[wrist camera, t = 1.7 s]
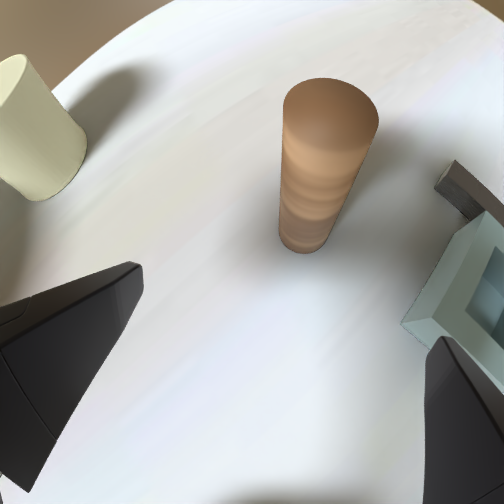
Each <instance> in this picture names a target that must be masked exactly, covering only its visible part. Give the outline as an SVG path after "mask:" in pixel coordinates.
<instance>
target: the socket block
mask: <svg viewBox="0 0 504 504" xmlns="http://www.w3.org/2000/svg"><path fill="white" fill-rule="evenodd" d="M400 324H401V325H402V326H403V327H404V328H405V329H406V330H408V331H409V332H410V333H411V334H412V335H413V336H415V337H416V338H417V339H418V340H419V341H420V342H421V343H423V344H424V345H425V346H426V347H427V348H428V349H429V350H431V348H432V347H433V345H434V344H435V342H436V340H437V339H438V338H439V337H440V336H448V337H452V338H453V339H454V340H455V341H456V342H457V343H458V344H459V345H460V346H461V347H462V348H463V349H464V350H465V352H466V353H467V354H468V355H469V356H470V357H471V358H472V359H473V360H474V361H475V363H476V364H477V365H478V366H479V367H480V368H481V369H482V370H483V371H484V373H485V374H486V375H487V376H488V377H489V378H490V379H491V381H492V382H493V383H494V384H495V385H496V386H497V388H498V389H499V390H500V391H501V392H502V393H504V227H503V226H502V225H501V224H500V223H499V222H498V221H497V220H496V219H495V218H494V217H493V216H492V215H491V214H490V213H489V212H488V211H487V210H486V211H484V212H483V213H482V214H480V215H479V216H478V217H476V218H475V219H474V220H472V221H471V222H469V223H468V224H467V225H465V226H464V227H463V228H461V229H460V230H458V231H457V232H455V233H454V235H453V236H452V238H451V240H450V242H449V244H448V246H447V248H446V250H445V251H444V253H443V255H442V257H441V259H440V260H439V262H438V264H437V266H436V267H435V269H434V271H433V272H432V274H431V276H430V277H429V279H428V281H427V282H426V284H425V286H424V287H423V289H422V291H421V292H420V294H419V295H418V297H417V299H416V300H415V302H414V303H413V305H412V306H411V308H410V309H409V311H408V312H407V314H406V315H405V317H404V318H403V320H402V321H401V323H400Z"/></svg>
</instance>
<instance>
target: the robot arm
mask: <svg viewBox="0 0 504 504" xmlns="http://www.w3.org/2000/svg"><path fill="white" fill-rule="evenodd" d="M143 289H144V284H143V269H142V266H141V265H140V264H138V263H134V262H131V261H128V262H125V263H122V264H119V265H116V266H113V267H111V268H108V269H105V270H102V271H99V272H96V273H93V274H91V275H88V276H85V277H82V278H79V279H77V280H74V281H71V282H68V283H65V284H63V285H60V286H57V287H54V288H52V289H49V290H46V291H44V292H41V293H38V294H35V295H33V296H32V297H27V298H25V299H22V300H19V301H17V302H14V303H11V304H8V305H5V306H2V307H0V478H1V476H2V474H3V475H5V476H6V477H7V478H9V479H10V480H11V481H12V482H14V483H15V484H16V485H18V486H19V487H20V488H22V489H23V490H25V491H26V492H27V493H29V492H30V491H31V489H32V487H33V485H34V483H35V481H36V479H37V477H38V475H39V473H40V472H41V470H42V468H43V466H44V464H45V462H46V460H47V458H48V457H49V455H50V453H51V451H52V449H53V447H54V446H55V444H56V442H57V440H58V438H59V436H60V435H61V433H62V431H63V429H64V428H65V426H66V424H67V422H68V421H69V419H70V417H71V415H72V414H73V412H74V410H75V409H76V407H77V405H78V403H79V402H80V400H81V398H82V397H83V395H84V393H85V392H86V390H87V388H88V387H89V385H90V384H91V382H92V380H93V379H94V377H95V375H96V374H97V372H98V371H99V369H100V367H101V366H102V364H103V363H104V361H105V359H106V358H107V356H108V355H109V353H110V352H111V350H112V348H113V347H114V345H115V344H116V342H117V341H118V339H119V337H120V336H121V334H122V332H123V331H124V329H125V327H126V325H127V323H128V321H129V319H130V317H131V315H132V313H133V311H134V309H135V307H136V305H137V303H138V301H139V299H140V297H141V296H142V293H143ZM424 415H425V475H424V493H423V504H504V395H503V394H502V392H501V391H500V390H499V389H498V388H497V386H496V385H495V384H494V383H493V382H492V381H491V379H490V378H489V377H488V376H487V375H486V374H485V373H484V371H483V370H482V369H481V368H480V367H479V366H478V365H477V364H476V363H475V361H474V360H473V359H472V358H471V357H470V356H469V355H468V354H467V353H466V352H465V350H464V349H463V348H462V347H461V346H460V345H459V344H458V343H457V342H456V341H455V340H454V339H453V338H452V337H448V336H440V337H439V338H438V339H437V340H436V342H435V344H434V345H433V347H432V348H431V350H430V351H429V353H428V355H427V357H426V363H425V397H424ZM0 504H3V501H2V497H1V493H0Z"/></svg>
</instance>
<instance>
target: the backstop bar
mask: <svg viewBox="0 0 504 504" xmlns="http://www.w3.org/2000/svg"><path fill="white" fill-rule="evenodd" d="M434 189H435V190H437V191H438V192H439V193H440V194H441V195H442V196H444V197H445V198H446V199H447V200H448V201H449V202H451V203H452V204H453V205H454V206H455V207H456V208H457V209H458V210H459V211H461V212H462V213H463V214H464V215H465V216H466V217H467V218H468V219H469V220H470V221H472V220H474V219H475V218H476V217H478V216H479V215H480V214H482V213H483V212H484V211H486V210H487V211H488V212H489V213H490V214H491V215H492V216H493V217H494V218H495V219H496V220H497V221H498V222H499V223H500V224H501V225H502V226H503V227H504V205H503V204H502V203H501V202H500V201H499V200H498V199H497V198H496V197H495V196H494V195H493V194H492V193H491V192H490V191H489V190H488V189H487V188H486V187H485V186H484V185H483V184H482V183H481V182H479V181H478V180H477V179H476V178H475V177H474V176H473V175H472V174H471V173H470V172H468V171H467V170H466V169H465V168H464V167H463V166H462V165H460V164H459V163H458V162H457V161H456V160H454V161H453V162H452V163H451V164H450V165H449V167H448V168H447V169H446V170H445V171H444V172H443V174H442V175H441V177H440V179H439V180H438V182H437V184H436V186H435V187H434Z"/></svg>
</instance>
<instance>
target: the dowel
mask: <svg viewBox="0 0 504 504" xmlns="http://www.w3.org/2000/svg"><path fill="white" fill-rule="evenodd" d="M378 123H379V117H378V112H377V110H376V107H375V106H374V104H373V102H372V101H371V100H370V98H369V97H368V96H367V95H366V94H365V93H363V92H362V91H361V90H360V89H358V88H356V87H355V86H353V85H351V84H349V83H346V82H344V81H340V80H336V79H331V78H315V79H310V80H306V81H303V82H301V83H299V84H297V85H296V86H294V87H293V88H292V89H291V90H290V91H289V92H288V93H287V95H286V97H285V100H284V104H283V133H282V163H281V188H280V211H279V236H280V238H281V241H282V242H283V244H284V245H285V246H286V247H287V248H288V249H290V250H292V251H294V252H296V253H300V254H308V253H312V252H315V251H317V250H318V249H320V248H321V247H322V246H323V244H324V243H325V241H326V239H327V237H328V235H329V233H330V231H331V229H332V227H333V225H334V223H335V221H336V219H337V217H338V215H339V212H340V210H341V208H342V206H343V204H344V202H345V200H346V198H347V196H348V193H349V191H350V189H351V187H352V185H353V183H354V181H355V178H356V176H357V174H358V172H359V170H360V167H361V165H362V163H363V161H364V158H365V156H366V154H367V152H368V149H369V147H370V145H371V143H372V140H373V138H374V136H375V133H376V131H377V128H378Z"/></svg>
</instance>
